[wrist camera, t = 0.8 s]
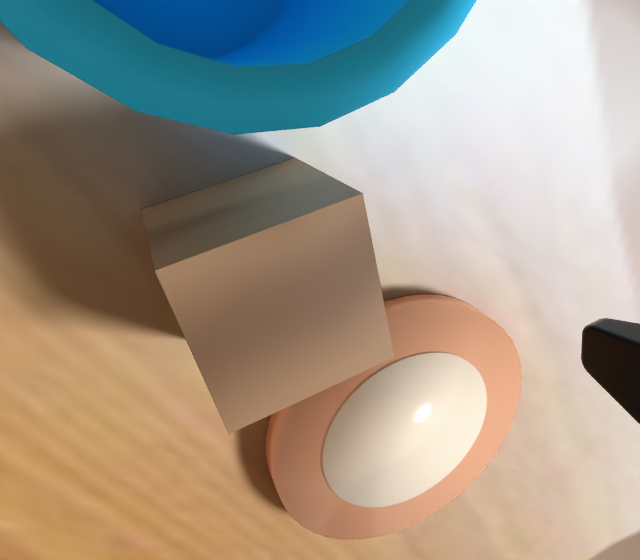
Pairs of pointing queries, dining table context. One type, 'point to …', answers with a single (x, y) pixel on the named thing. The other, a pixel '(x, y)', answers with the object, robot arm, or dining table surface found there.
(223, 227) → the walnut block
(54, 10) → the mug
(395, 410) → the terracotta dish
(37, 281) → the dining table surface
